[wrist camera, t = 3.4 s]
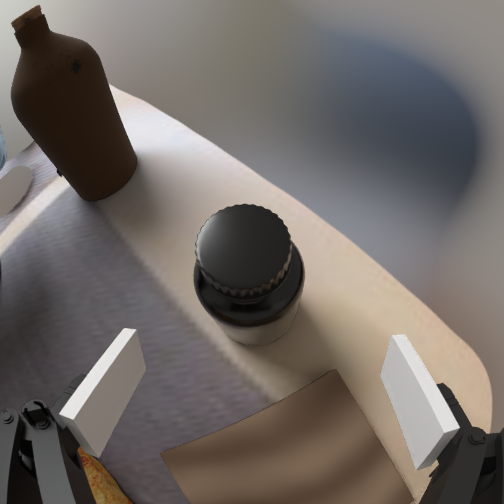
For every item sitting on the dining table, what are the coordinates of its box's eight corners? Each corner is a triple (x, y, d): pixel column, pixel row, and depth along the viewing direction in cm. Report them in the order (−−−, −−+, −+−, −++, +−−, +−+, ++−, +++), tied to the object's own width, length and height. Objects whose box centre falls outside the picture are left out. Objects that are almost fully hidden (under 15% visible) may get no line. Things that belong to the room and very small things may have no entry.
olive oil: (145, 138, 36) (89, -21, 14) (137, 194, 31) (45, -2, 9) (82, 157, 36) (12, 23, 13) (67, 213, 31) (-40, 63, 9)
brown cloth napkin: (164, 450, 19) (159, 453, 18) (332, 369, 22) (335, 368, 21) (253, 572, 12) (253, 578, 11) (408, 496, 15) (414, 499, 14)
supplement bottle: (249, 258, 27) (236, 168, 16) (310, 301, 25) (341, 229, 14) (200, 314, 25) (149, 254, 14) (261, 363, 22) (256, 342, 12)
